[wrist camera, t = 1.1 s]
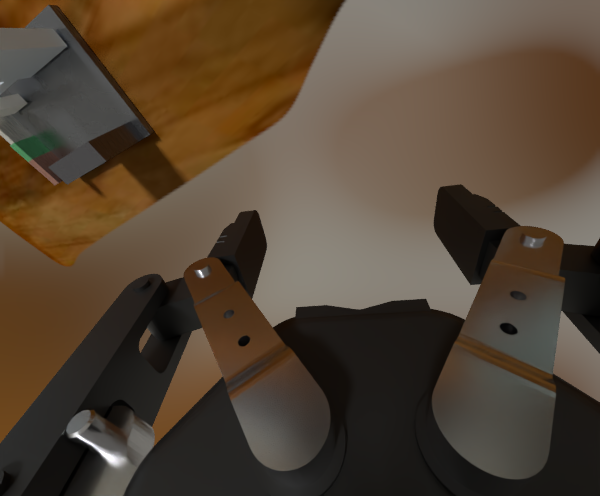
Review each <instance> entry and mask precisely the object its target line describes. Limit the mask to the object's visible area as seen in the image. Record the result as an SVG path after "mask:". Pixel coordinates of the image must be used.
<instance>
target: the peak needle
mask: <svg viewBox="0 0 600 496" xmlns="http://www.w3.org/2000/svg"><path fill="white" fill-rule="evenodd" d="M26 104H28V103H27V102H26V101H25V100H24V99H23V98H22V97H21V96H20V95H19V94H14V95H9V96H5V97H0V117H4V116H7V115H11V114H15V113H16V112H18V111H19V110H20V109H21V108H23V107H24V106H25V105H26Z"/></svg>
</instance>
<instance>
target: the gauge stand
mask: <svg viewBox="0 0 600 496" xmlns="http://www.w3.org/2000/svg"><path fill="white" fill-rule="evenodd" d="M25 28H44V29H54V30H55V31H56V33H57V34H58V35H59V36H60V38H61V39H62V40H63V41H64V43H65V44H66V45H67V47H66V48H65V49H64V50H62V51H61V52H60V53H59V54H58V55H56V56H55V57H54V58H53V59H52V60H51V61H49V62H48V63H47V64H46V65H45V66H44V67H42V68H41V69H40V70H39V71H38V72H36V73H35V74H34V75H33V76H32V77H31V78H25V79H18V80H17V81H15V82H14V83H13V84H12V85H11V86H10V87H8V88H7V89H6V90H5V91H4V92H3V93H2V94H0V97H5V96H9V95H14V94H19V95H20V96H21V97H22V98H23V99H24V100H25V101H26V102H27V103H28V104H26V105H25V106H24V107H23V108H21V109H20V110H19V111H18V112H16V113H15V114H11V115H7V116H4V117H0V135H1V136H2V137H3V138H4V139H5V140H7V141H8V142H9V143H10V144H11V145H10V146H11V147H12V148H13V149H14V150H15V151H16V152H17V153H19V154H20V155H21V156H22V157H23V158H24V159H25V160H27V161H28V162H29V163H30V164H31V165H32V166H33V167H35V168H36V169H37V170H38V171H39V172H40V173H41V174H43V175H44V176H45V177H46V178H47V179H48V180H49V181H51V182H52V183H53V184H54V185H56V184H58V183H60V182H61V181H64V182H65V183H66V184H69V183H71V182H72V181H74V180H76V179H77V178H79V177H81V176H82V175H84V174H86V173H88V172H89V171H91V170H93V169H94V168H96V167H98V166H99V165H101V164H103V163H105V162H106V161H108V160H109V159H111V158H113V157H114V156H116V155H118V154H119V153H121V152H122V151H124V150H126V149H127V148H129V147H131V146H132V145H134V144H135V143H137V142H139V141H140V140H142V139H143V138H145V137H147V136H149V135H150V134H152V133H153V132H154V131H153V129H152V128H151V127H150V125H149V124H148V123H147V121H146V120H145V119H144V118H143V116H142V115H141V114H140V112H139V111H138V110H137V109H136V107H135V106H134V105H133V103H132V102H131V101H130V99H129V98H128V97H127V96H126V94H125V93H124V92H123V90H122V89H121V88H120V86H119V85H118V84H117V83H116V81H115V80H114V79H113V77H112V76H111V75H110V74H109V72H108V71H107V70H106V68H105V67H104V66H103V64H102V63H101V62H100V61H99V59H98V58H97V57H96V55H95V54H94V53H93V51H92V50H91V49H90V48H89V46H88V45H87V44H86V42H85V41H84V40H83V38H82V37H81V36H80V35H79V33H78V32H77V31H76V29H75V28H74V27H73V26H72V24H71V23H70V22H69V20H68V19H67V18H66V16H65V15H64V14H63V13H62V11H61V10H60V9H59V7H58V6H55V5H48V6H47V7H46V8H45V9H44V10H43V11H42V12H41V13H40V14H39V15H38V16H37V17H35V18H34V19H33V20H32V21H31V22H30V23H29V24H28V25H27V26H26V27H25Z"/></svg>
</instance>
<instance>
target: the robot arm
mask: <svg viewBox="0 0 600 496" xmlns="http://www.w3.org/2000/svg"><path fill="white" fill-rule="evenodd" d="M434 229H435V232H436V234H437V236H438V237H439V239H440V240H441V242H442V243H443V245H444V246H445V248H446V249H447V251H448V252H449V254H450V255H451V257H452V258H453V260H454V261H455V262H456V264H457V265H458V267H459V268H460V270H461V271H462V273H463V274H464V276H465V277H466V279H467V280H468V282H469V283H470V285H475V284H481V285H480V288H479V290H478V292H477V295H476V297H475V299H474V301H473V304H472V306H471V308H470V311H469V313H468V315H467V317H466V320H464V319H462V318H460V317H457V316H455V315H453V314H450V313H446V312H443V311H438V310H434V309H430V307H429V305H428V303H427V300H426V299H417V300H401V301H391V302H387V303H383V304H380V305H376V306H372V307H369V308H366V309H361V310H356V309H349V308H342V307H335V306H327V305H324V306H309V307H296V316H295V317H293V318H290V319H288V320H285V321H283V322H281V323H279V324H278V325H276V326H275V327H273V328H272V326H271V325H270V324H269V322H268V321H267V319H266V318H265V317H264V315H263V314H262V312H261V311H260V310H259V308H258V307H257V306H256V304H255V303H254V302H253V300H252V298H253V294H254V291H255V287H256V284H257V280H258V277H259V274H260V270H261V267H262V264H263V260H264V257H265V253H266V250H267V243H266V237H265V234H264V230H263V227H262V224H261V220H260V217H259V214H258V212H257V211H256V210H253V211H245V212H241V213H239V215H238V217H237V219H236V221H235V223H231V224H230V225H229V226H228V227H226V228H225V229H224V230H223V232H222V233H221V235H220V237H219V239H218V240H217V243H216V244H215V245H214V247H213V249H212V250H211V252H210V254H209V255H208V257H207V258H204V259H201V260H199V261H197V262H195V263H193V264H191V265H190V266H189V267H188V268H187V269H186V270H185V272H184V277H183V278H179V279H176V280H173V281H170V282H166V283H165V282H164V280H163V279H162V277H161V276H160V275H158V274H149V275H145V276H143V277H140V278H138V279H136V280H135V281H133V282H132V283H130V284H129V285H128V286H127V287H126V288H125V289H124V290H123V292H122V293H121V294H120V295H119V297H118V298H117V299H116V300H115V301H114V303H113V304H112V305H111V306H110V308H109V309H108V310H107V311H106V313H105V314H104V315H103V316H102V318H101V319H100V320H99V321H98V323H97V324H96V325H95V326H94V328H93V329H92V330H91V332H90V333H89V334H88V335H87V336H86V338H85V339H84V340H83V341H82V343H81V344H80V345H79V346H78V348H77V349H76V350H75V351H74V353H73V354H72V355H71V356H70V358H69V359H68V360H67V361H66V362H65V364H64V365H63V366H62V367H61V369H60V370H59V371H58V372H57V374H56V375H55V376H54V377H53V379H52V380H51V381H50V382H49V384H48V385H47V386H46V387H45V389H44V390H43V391H42V392H41V394H40V395H39V396H38V397H37V399H36V400H35V401H34V402H33V404H32V405H31V406H30V407H29V409H28V410H27V411H26V412H25V413H24V415H23V416H22V417H21V418H20V420H19V421H18V422H17V423H16V425H15V426H14V427H13V428H12V430H11V431H10V432H9V433H8V435H7V436H6V437H5V438H4V440H3V441H2V442H1V443H0V496H600V402H598V401H596V400H595V399H593V398H592V397H590V396H589V395H587V394H585V393H584V392H582V391H580V390H579V389H577V388H576V387H574V386H572V385H571V384H569V383H567V382H566V381H564V380H563V379H561V378H559V377H558V376H556V375H554V374H553V367H554V360H555V352H556V345H557V337H558V330H559V322H560V314H561V311H563V312H564V313H565V315H566V316H567V317H568V318H569V319H570V320H571V322H572V323H573V324H574V325H575V326H576V327H577V328H578V330H579V331H580V332H581V333H582V334H583V335H584V336H585V338H586V339H587V340H588V341H589V342H590V343H591V344H592V345H593V347H594V348H595V349H596V350H597V351H598V352H599V353H600V239H599V240H598V242H597V244H596V245H595V246H586V245H572V244H564V242H563V239H562V238H561V237H560V236H558V235H557V234H555V233H553V232H551V231H549V230H546V229H542V228H538V227H532V226H520V225H519V224H518V223H516V222H515V221H514V220H513V219H511V218H510V217H509V216H508V215H507V214H505V213H504V212H502V210H500V209H499V208H498V207H495V205H494V204H493V203H492V202H491V201H489V200H488V199H486V198H484V197H481V196H479V195H476V194H472V193H471V192H469V191H468V190H467V189H466V188H465V187H464V186H463V185H453V186H445V187H440V189H439V190H438V195H437V202H436V209H435V216H434ZM146 328H148V329H149V331H150V332H151V333H152V334H151V336H150V337H149V339H148V341H147V343H146V344H145V346H144V348H143V350H142V352H141V353H140V351H139V341H140V338H141V337H142V335H143V333H144V331H145V330H146ZM200 328H203V330H204V332H205V334H206V337H207V339H208V342H209V344H210V346H211V349H212V351H213V354H214V356H215V359H216V361H217V363H218V366H219V368H220V371H221V373H222V376H223V377H222V378H221V379H220V380H219V381H218V382H217V383H216V384H215V385H214V386H213V387H212V388H211V389H210V390H209V391H208V392H207V393H206V394H205V395H204V396H203V397H202V398H201V399H200V400H199V401H198V402H197V403H196V404H195V405H194V406H193V407H192V408H191V409H190V410H189V411H188V413H186V414H185V415H184V416H183V417H182V418H181V419H180V420H179V421H178V423H177V424H176V425H175V426H174V427H173V428H172V429H171V430H170V431H169V432H168V433H167V434H166V435H165V436H164V437H163V438H162V439H161V440H160V441H159V442H158V443H157V444H156V445H155V446H154V447H153V445H154V431H153V428H152V425H153V423H154V421H155V418H156V416H157V413H158V411H159V409H160V406H161V404H162V402H163V399H164V397H165V394H166V392H167V390H168V387H169V385H170V383H171V380H172V378H173V375H174V373H175V371H176V368H177V366H178V364H179V361H180V359H181V356H182V354H183V352H184V349H185V347H186V344H187V342H188V339H189V337H190V335H191V332H192V331H193V330H197V329H200Z"/></svg>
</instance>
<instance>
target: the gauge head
mask: <svg viewBox="0 0 600 496" xmlns="http://www.w3.org/2000/svg"><path fill="white" fill-rule="evenodd" d="M66 47H67V45H66V44H65V43H64V41H63V40H62V39H61V38H60V36H59V35H58V34H57V33H56V31H55V30H54V29H44V28H0V94H2V93H3V92H4V91H5V90H6V89H7V88H8V87H10V86H11V85H12V84H13V83H14V82H15V81H17V80H18V79H25V78H31V77H32V76H33V75H34V74H35V73H36V72H38V71H39V70H40V69H41V68H42V67H44V66H45V65H46V64H47V63H48V62H49V61H51V60H52V59H53V58H54V57H55V56H56V55H58V54H59V53H60V52H61V51H62V50H64V49H65V48H66Z"/></svg>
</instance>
